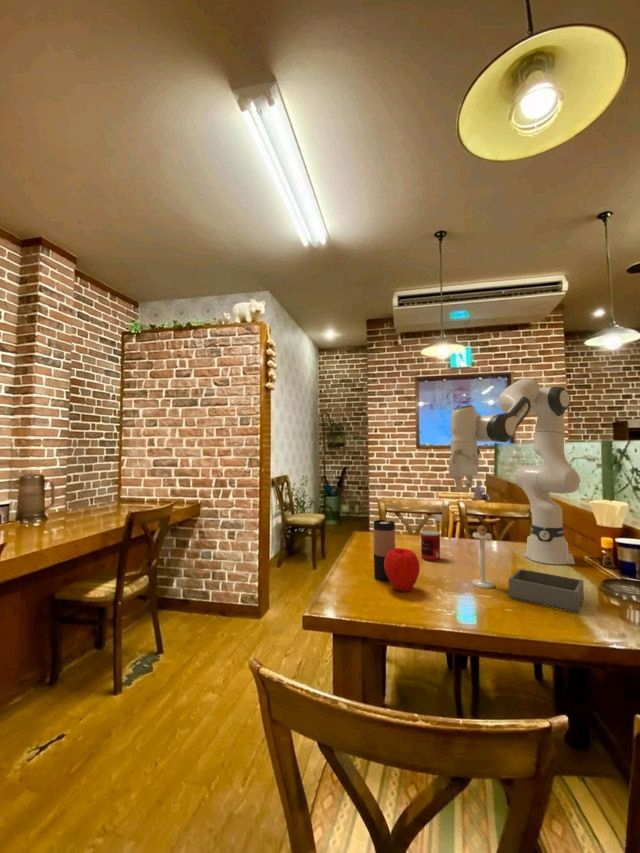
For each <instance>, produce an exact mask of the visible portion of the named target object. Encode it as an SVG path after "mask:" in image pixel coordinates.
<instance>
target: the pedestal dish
mask: <svg viewBox="0 0 640 853" xmlns="http://www.w3.org/2000/svg"><path fill="white" fill-rule="evenodd" d="M492 536H493V535H492V533H490V532H489V533H488V532H487V533H486V534H485V535H480V534H479V533H478V532H477V531H475V532H473V533H472V537H473V539H478V540H479V562H480V566H479V567H480V578H473V579H472V580H471V586H473V587H476V588H480V589H485V590H486V589H487V590H488V589H494V588H495V582H494V581H493V580H491V579H486V546H485V545H486V544H485V542H486V541H485V540H491V539H492V538H493V537H492Z"/></svg>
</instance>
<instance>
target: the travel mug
mask: <svg viewBox="0 0 640 853" xmlns="http://www.w3.org/2000/svg"><path fill="white" fill-rule="evenodd" d="M395 523H396V522H395V521H393V520H390V521H386V520H385V519H377V520H373V570H374V572H373V573H374V580H376V581H378V580H379V581H378V582H382V581H383V583H385V582H386V583H389V582H390V580H389V579H388V577H387V575H386V572H385V569H384V560H385V557H386V554H387V553H388V552H389V551H390V550H392V549H394V548H396V524H395ZM390 583H391V582H390Z"/></svg>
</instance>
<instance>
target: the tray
mask: <svg viewBox="0 0 640 853" xmlns="http://www.w3.org/2000/svg"><path fill="white" fill-rule="evenodd" d="M584 591H585V589H584V580H583V579H577V578H571V577H566V576H562V575H561V576H560V575H556V574H549V573H545V572H539V571H535V570H528V569H522V568H518V569H517V570H516V571H515V572H514V573H513V574H512V575H511V576H510V577H509V578H508V599H510V598H511V599H510V600H515V599H516V601H519V600H522V601H521V602H523V601H526V602H525V603H528V602H531V603H530V604H532V603H536V604H540V605H539V606H541V605H545V606H549V607H553V608H552V609H554V608H557V609H556V610H558V609H562V610H566V611H565V612H567V611H571V612H575V613H578V612H579V613H580V611H579V609H580V610H581V608H582V606H581V605H583V604H582V602H583V603H584V601H585V596H584V595H585V593H584ZM583 600H584V601H583ZM536 604H535V605H536ZM545 606H544V607H545ZM549 607H548V608H549ZM580 607H581V608H580ZM562 610H561V611H562ZM571 612H570V613H571ZM575 613H574V614H575ZM579 613H578V614H579Z"/></svg>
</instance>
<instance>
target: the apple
mask: <svg viewBox="0 0 640 853" xmlns="http://www.w3.org/2000/svg"><path fill="white" fill-rule="evenodd" d="M420 568H421V567H420V561H419V558H418V556H417V555H416V553H415V552H414V551H412V550H411V549H407V548H403V547H402V548H400V547H395V548H394V549H392V550H390V551H389V552H388V553H387V554H386V557H385V560H384V569H385V572H386V575H387V577H388V579H389V580H390V584H391V585H392V586H393V588H394V589H395V590H397V591H399V592H406V593H407V592H409V591H411V589H413V587H414V585H415V584H416V582H417V581H418V578H419V574H420Z"/></svg>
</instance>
